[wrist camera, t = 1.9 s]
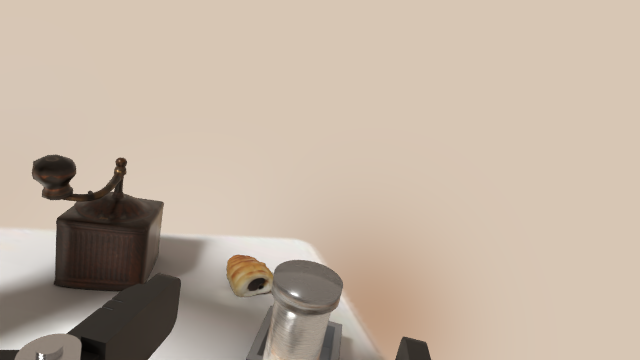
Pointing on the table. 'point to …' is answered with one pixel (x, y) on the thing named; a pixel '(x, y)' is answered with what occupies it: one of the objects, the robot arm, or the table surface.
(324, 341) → the tray
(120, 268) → the manual coffee grinder
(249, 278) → the pastry
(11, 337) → the table surface
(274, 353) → the pin
